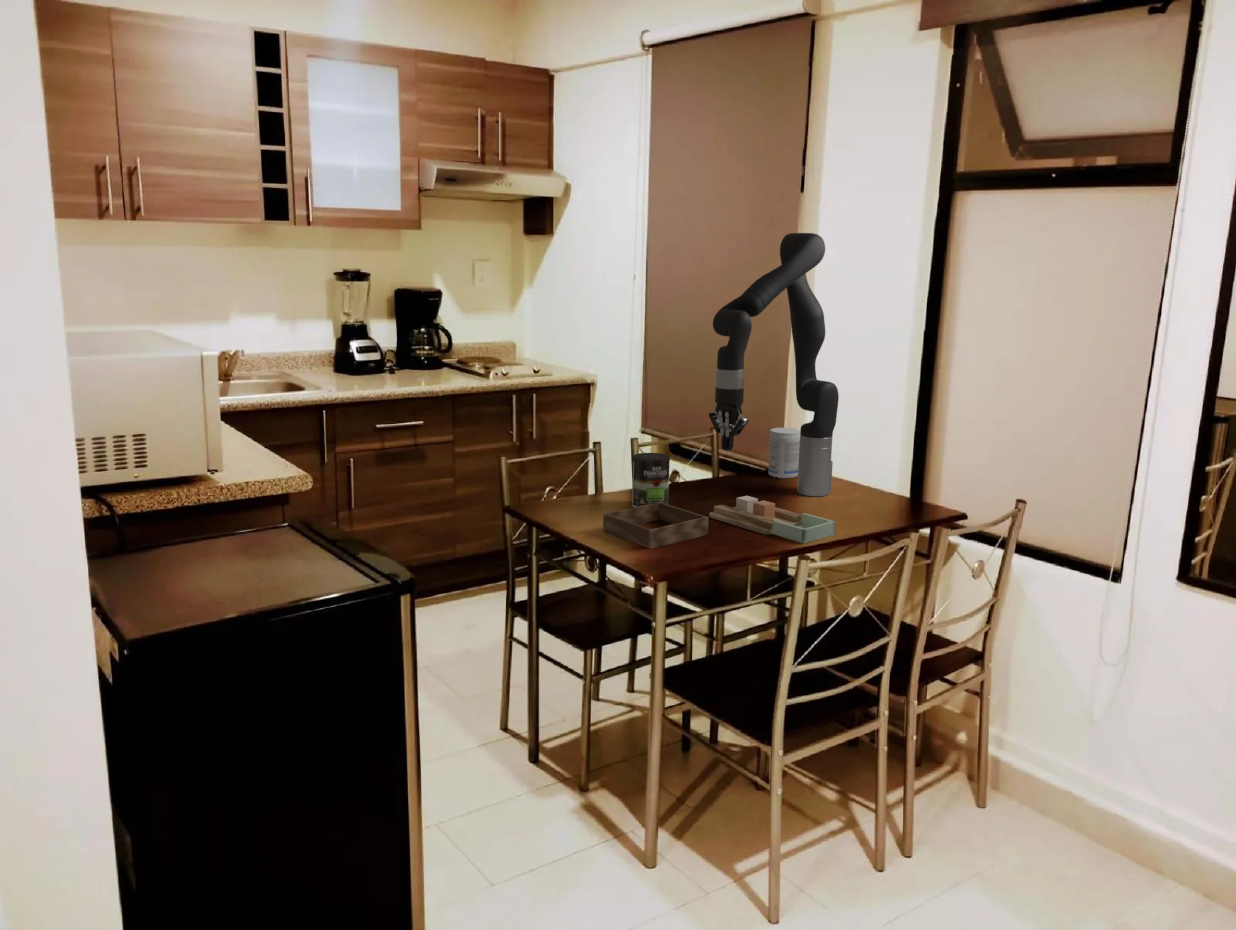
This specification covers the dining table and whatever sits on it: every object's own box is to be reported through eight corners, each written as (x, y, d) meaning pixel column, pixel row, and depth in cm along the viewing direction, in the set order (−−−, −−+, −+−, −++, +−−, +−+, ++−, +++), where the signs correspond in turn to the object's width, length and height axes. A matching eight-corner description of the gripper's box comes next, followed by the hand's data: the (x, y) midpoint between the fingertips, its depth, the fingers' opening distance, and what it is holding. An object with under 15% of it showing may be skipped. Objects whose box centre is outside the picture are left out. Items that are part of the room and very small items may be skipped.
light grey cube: (746, 510, 254) (746, 495, 253) (757, 513, 251) (758, 498, 250) (735, 512, 252) (736, 497, 251) (746, 515, 249) (747, 501, 248)
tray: (803, 525, 245) (804, 513, 244) (834, 534, 237) (835, 521, 236) (772, 533, 237) (773, 520, 236) (803, 543, 230) (804, 530, 229)
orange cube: (762, 514, 250) (763, 500, 249) (774, 518, 247) (775, 503, 246) (752, 517, 247) (753, 502, 246) (764, 520, 244) (764, 505, 243)
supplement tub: (799, 473, 303) (802, 428, 299) (797, 480, 294) (800, 433, 290) (769, 471, 305) (771, 426, 302) (766, 477, 296) (768, 431, 293)
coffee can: (673, 509, 258) (675, 459, 255) (638, 512, 255) (639, 461, 252) (661, 500, 268) (662, 451, 265) (627, 502, 265) (627, 453, 262)
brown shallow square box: (659, 518, 249) (659, 502, 248) (707, 534, 236) (708, 517, 235) (603, 531, 238) (603, 513, 237) (650, 548, 224) (651, 530, 223)
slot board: (750, 507, 261) (750, 498, 261) (807, 523, 246) (807, 513, 246) (709, 517, 251) (709, 507, 251) (765, 534, 236) (766, 524, 236)
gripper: (758, 387, 248) (755, 452, 251) (721, 382, 258) (719, 444, 261) (738, 390, 243) (735, 455, 247) (701, 384, 253) (699, 447, 257)
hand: (727, 449), depth 254 cm, fingers closed
